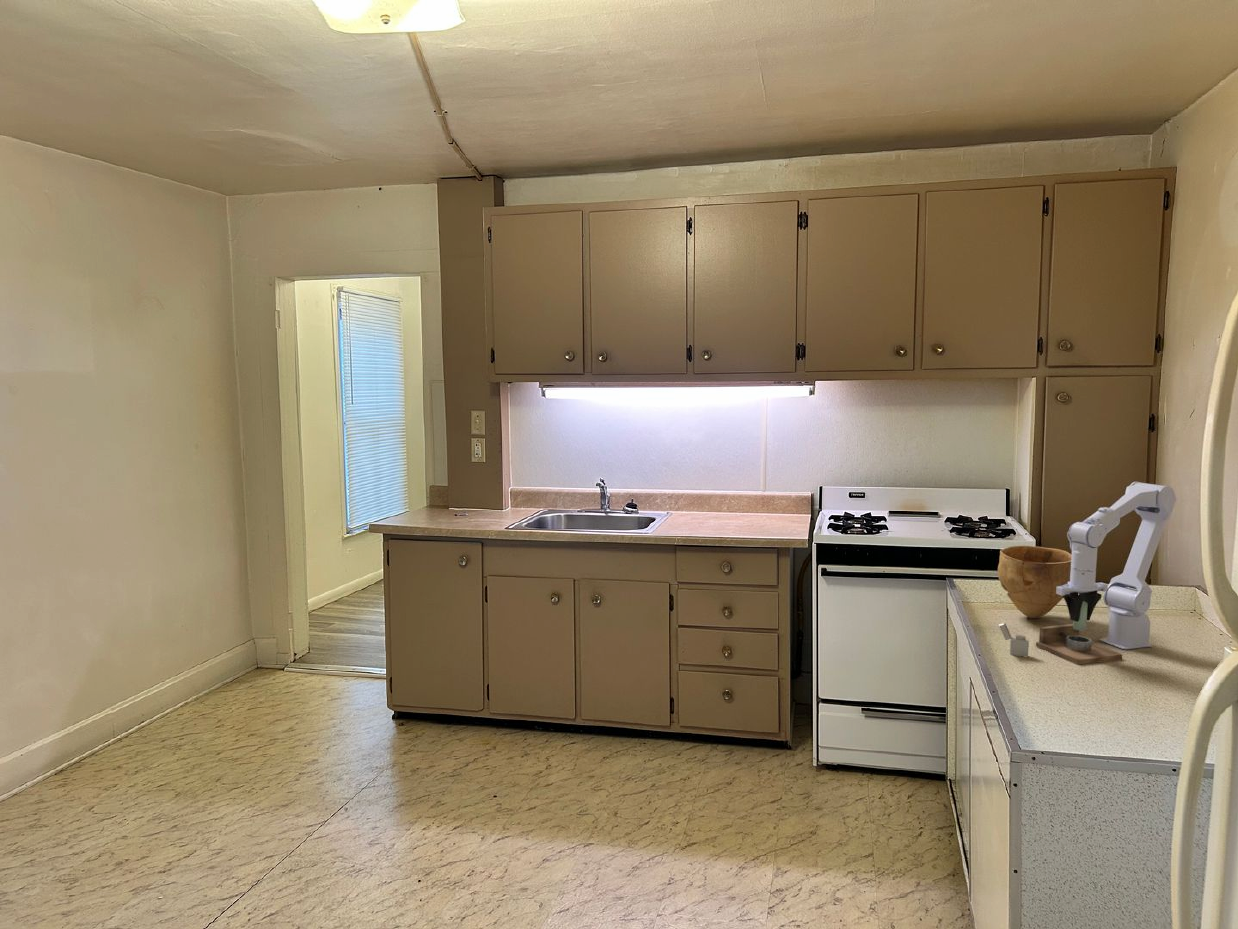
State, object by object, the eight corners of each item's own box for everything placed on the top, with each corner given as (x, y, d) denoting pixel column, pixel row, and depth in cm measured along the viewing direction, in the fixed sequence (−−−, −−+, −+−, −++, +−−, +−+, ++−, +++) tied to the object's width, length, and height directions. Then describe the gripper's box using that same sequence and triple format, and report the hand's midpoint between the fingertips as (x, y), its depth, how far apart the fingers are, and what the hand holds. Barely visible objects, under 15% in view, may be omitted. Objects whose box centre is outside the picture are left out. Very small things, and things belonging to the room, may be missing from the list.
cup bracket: (1078, 641, 226) (1079, 623, 225) (1121, 659, 212) (1123, 639, 212) (1035, 646, 222) (1036, 627, 221) (1077, 664, 209) (1078, 644, 208)
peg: (1080, 626, 218) (1082, 600, 217) (1088, 630, 215) (1090, 604, 214) (1070, 627, 218) (1071, 601, 217) (1078, 630, 215) (1079, 604, 214)
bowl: (1086, 629, 236) (1090, 560, 234) (1014, 629, 237) (1018, 560, 234) (1049, 607, 257) (1053, 544, 255) (983, 607, 257) (986, 544, 255)
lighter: (1028, 655, 215) (1029, 625, 214) (1027, 657, 214) (1029, 627, 213) (998, 650, 219) (999, 621, 218) (997, 652, 217) (998, 623, 217)
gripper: (1093, 563, 220) (1089, 613, 222) (1048, 567, 216) (1045, 617, 218) (1115, 569, 214) (1112, 620, 215) (1069, 573, 210) (1066, 625, 211)
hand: (1079, 619), depth 216 cm, fingers closed on peg, 3 cm apart
